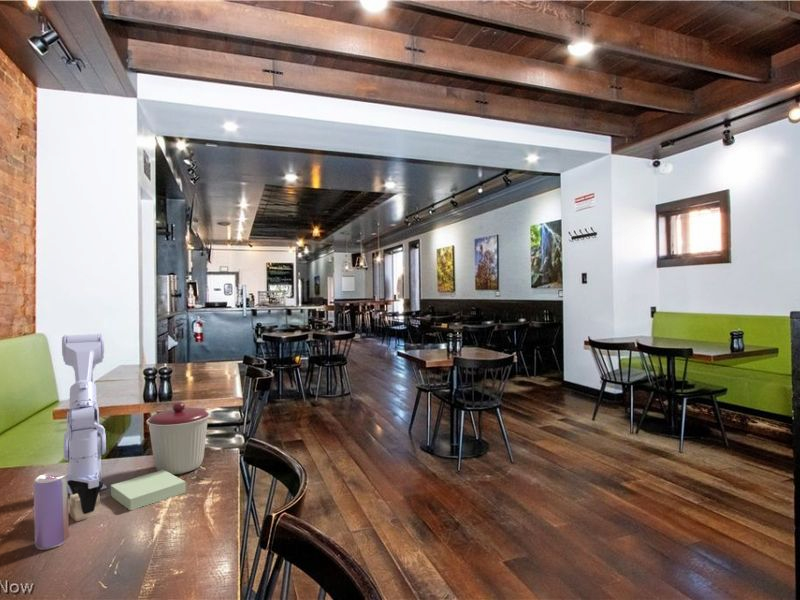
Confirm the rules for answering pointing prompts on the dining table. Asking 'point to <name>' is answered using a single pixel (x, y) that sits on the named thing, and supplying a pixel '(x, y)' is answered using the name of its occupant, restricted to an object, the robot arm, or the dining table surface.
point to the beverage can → (51, 510)
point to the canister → (178, 438)
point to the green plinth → (147, 489)
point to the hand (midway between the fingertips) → (84, 509)
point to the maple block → (77, 509)
